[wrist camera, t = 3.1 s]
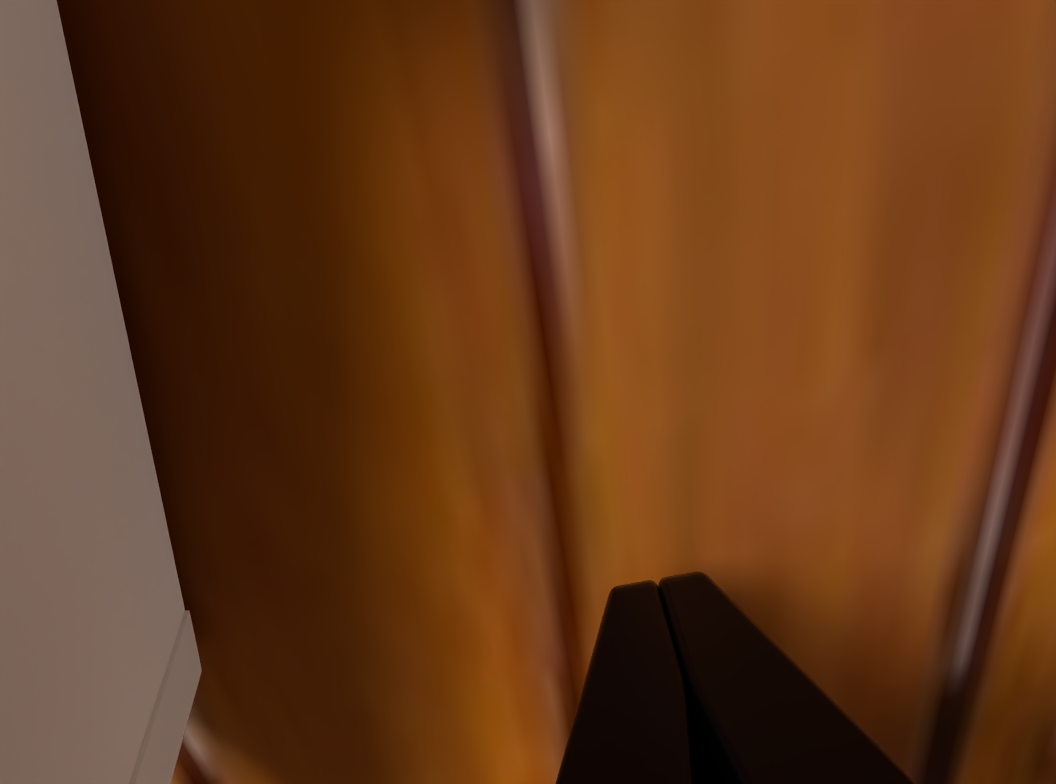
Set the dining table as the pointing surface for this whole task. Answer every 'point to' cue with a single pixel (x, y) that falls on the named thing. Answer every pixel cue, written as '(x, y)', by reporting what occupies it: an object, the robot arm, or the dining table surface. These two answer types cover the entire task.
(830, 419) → the dining table surface
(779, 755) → the robot arm
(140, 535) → the long white bar
